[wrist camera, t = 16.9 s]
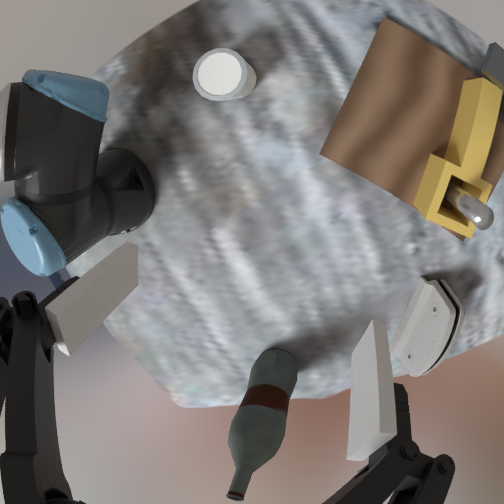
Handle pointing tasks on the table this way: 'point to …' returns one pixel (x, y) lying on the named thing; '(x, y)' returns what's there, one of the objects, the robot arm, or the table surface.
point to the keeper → (495, 71)
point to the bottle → (261, 417)
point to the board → (403, 115)
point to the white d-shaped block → (427, 327)
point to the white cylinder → (223, 75)
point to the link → (462, 156)
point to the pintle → (469, 206)
